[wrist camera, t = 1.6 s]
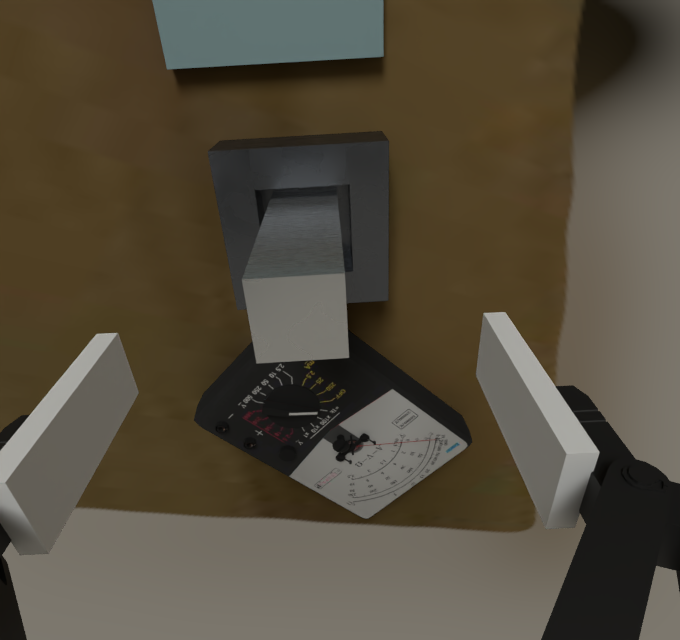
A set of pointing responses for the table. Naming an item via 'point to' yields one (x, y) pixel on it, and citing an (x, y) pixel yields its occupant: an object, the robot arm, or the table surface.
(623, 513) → the robot arm
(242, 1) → the slate mat
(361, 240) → the socket block
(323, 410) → the multimeter
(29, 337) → the table surface
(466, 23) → the table surface
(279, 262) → the long steel block
